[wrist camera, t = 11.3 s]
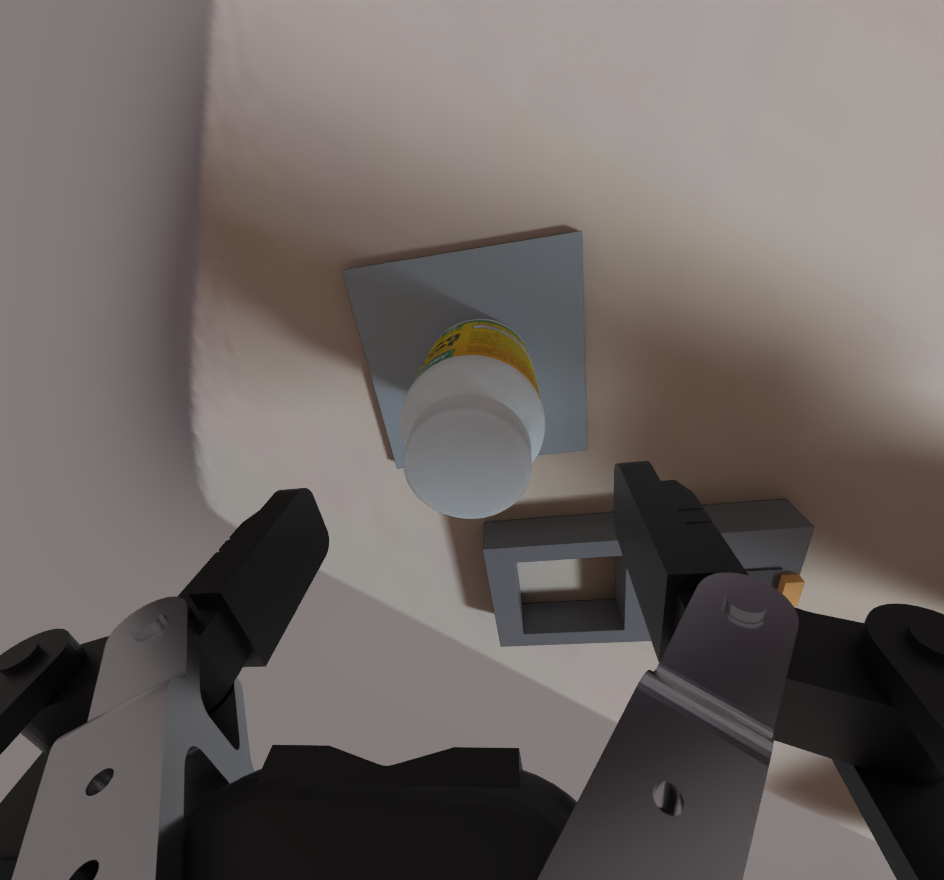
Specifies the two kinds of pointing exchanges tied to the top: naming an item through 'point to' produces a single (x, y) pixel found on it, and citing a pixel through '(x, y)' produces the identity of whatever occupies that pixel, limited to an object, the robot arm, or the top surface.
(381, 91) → the top surface
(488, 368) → the supplement bottle
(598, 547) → the gray slotted block
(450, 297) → the charging mat
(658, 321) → the top surface
